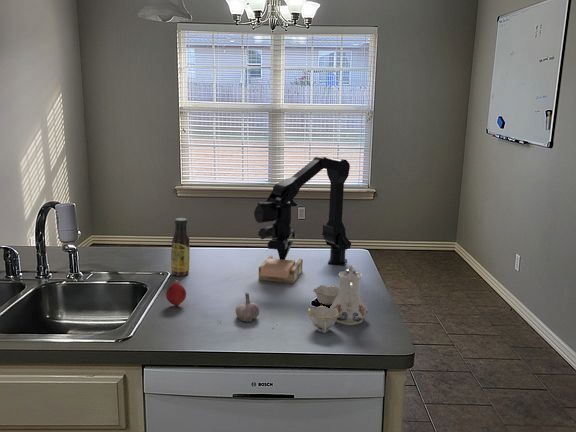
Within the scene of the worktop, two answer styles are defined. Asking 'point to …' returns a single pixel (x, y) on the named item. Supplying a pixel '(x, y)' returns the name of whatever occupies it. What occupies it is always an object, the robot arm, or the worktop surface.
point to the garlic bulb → (247, 310)
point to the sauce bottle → (180, 249)
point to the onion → (176, 293)
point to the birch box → (290, 279)
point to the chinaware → (339, 302)
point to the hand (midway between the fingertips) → (282, 262)
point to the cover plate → (277, 268)
